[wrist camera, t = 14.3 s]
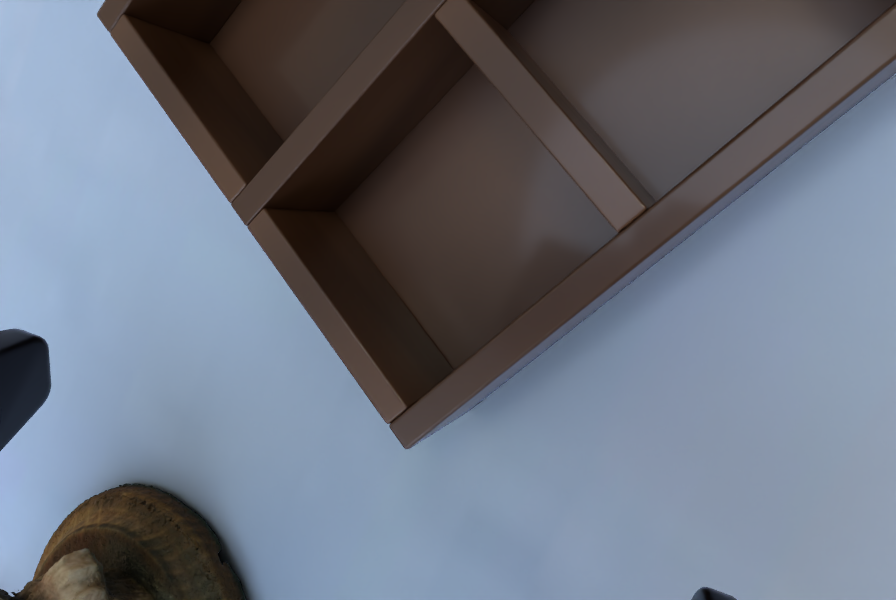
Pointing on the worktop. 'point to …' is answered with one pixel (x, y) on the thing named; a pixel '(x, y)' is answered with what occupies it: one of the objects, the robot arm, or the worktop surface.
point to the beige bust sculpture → (132, 553)
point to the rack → (488, 154)
